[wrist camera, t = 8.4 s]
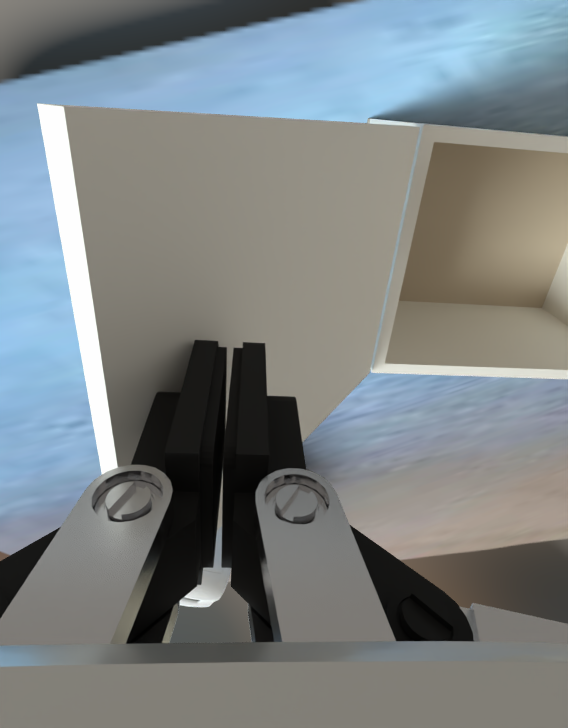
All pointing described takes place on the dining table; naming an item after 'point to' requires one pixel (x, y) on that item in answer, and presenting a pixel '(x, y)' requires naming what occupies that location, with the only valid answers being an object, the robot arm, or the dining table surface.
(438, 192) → the carton
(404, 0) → the dining table surface
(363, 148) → the carton lid
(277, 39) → the dining table surface
